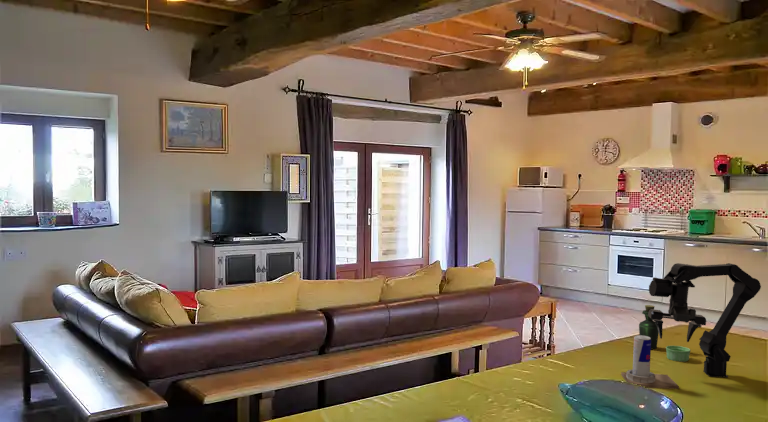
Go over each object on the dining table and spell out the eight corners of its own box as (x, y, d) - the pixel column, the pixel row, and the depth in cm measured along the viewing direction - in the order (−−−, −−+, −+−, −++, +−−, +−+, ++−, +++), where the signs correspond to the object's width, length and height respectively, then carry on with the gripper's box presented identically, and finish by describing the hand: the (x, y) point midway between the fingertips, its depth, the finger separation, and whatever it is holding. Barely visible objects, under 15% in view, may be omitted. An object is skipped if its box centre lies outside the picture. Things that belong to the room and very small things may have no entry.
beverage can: (641, 382, 220) (643, 339, 219) (628, 377, 225) (630, 335, 224) (652, 380, 222) (654, 338, 221) (640, 375, 227) (642, 334, 226)
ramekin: (694, 362, 249) (694, 351, 249) (671, 362, 249) (671, 351, 249) (683, 356, 258) (684, 345, 258) (661, 355, 258) (662, 345, 258)
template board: (666, 377, 229) (667, 369, 229) (678, 389, 216) (679, 380, 216) (621, 374, 231) (621, 366, 231) (630, 386, 218) (630, 377, 218)
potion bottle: (646, 350, 265) (648, 308, 264) (633, 345, 273) (635, 304, 272) (662, 349, 267) (664, 307, 267) (650, 344, 275) (651, 303, 274)
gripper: (656, 298, 225) (652, 341, 226) (713, 305, 221) (708, 349, 222) (650, 293, 236) (645, 334, 237) (703, 299, 232) (699, 341, 233)
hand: (674, 340), depth 232 cm, fingers open, 9 cm apart
